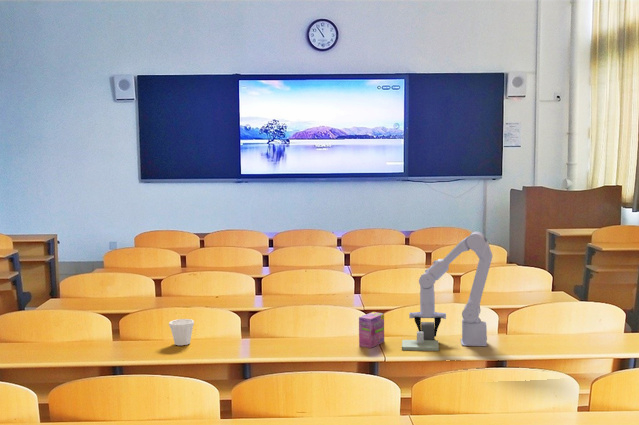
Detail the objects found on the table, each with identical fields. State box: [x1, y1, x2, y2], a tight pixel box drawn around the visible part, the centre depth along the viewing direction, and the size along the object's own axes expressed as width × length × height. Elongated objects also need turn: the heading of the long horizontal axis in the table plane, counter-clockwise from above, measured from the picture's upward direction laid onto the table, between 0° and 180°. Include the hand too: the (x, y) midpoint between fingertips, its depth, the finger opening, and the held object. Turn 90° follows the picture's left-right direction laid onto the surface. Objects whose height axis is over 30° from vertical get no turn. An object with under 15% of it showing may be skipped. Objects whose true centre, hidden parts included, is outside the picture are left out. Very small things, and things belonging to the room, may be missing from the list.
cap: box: [421, 321, 436, 340], centre depth 253 cm, size 5×5×7 cm
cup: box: [168, 318, 195, 347], centre depth 255 cm, size 10×10×9 cm
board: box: [401, 339, 440, 352], centre depth 245 cm, size 14×10×1 cm
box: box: [358, 311, 385, 349], centre depth 249 cm, size 10×6×12 cm, turn 143°
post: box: [416, 330, 424, 345], centre depth 244 cm, size 3×3×4 cm
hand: (427, 335), depth 253 cm, fingers closed on cap, 5 cm apart
